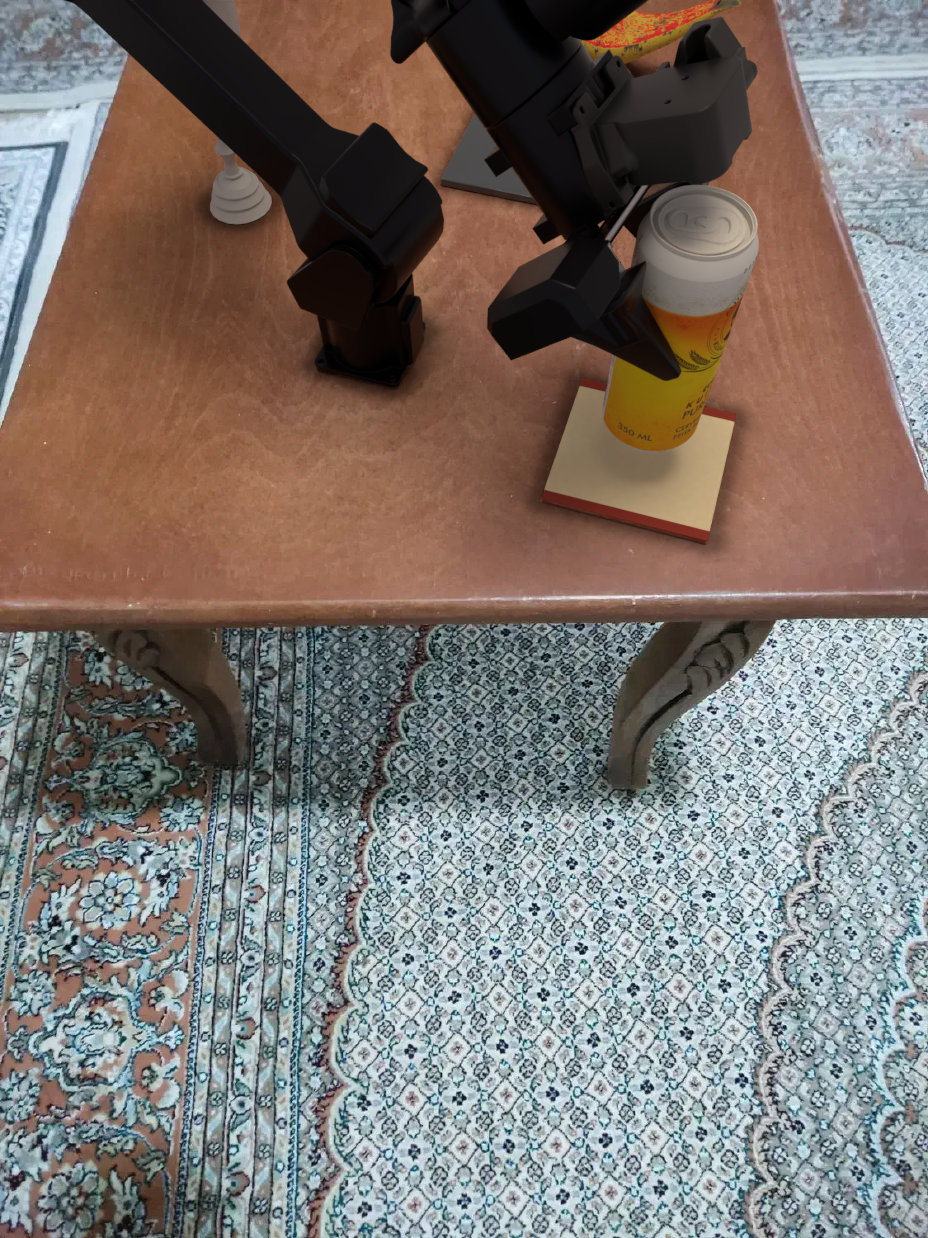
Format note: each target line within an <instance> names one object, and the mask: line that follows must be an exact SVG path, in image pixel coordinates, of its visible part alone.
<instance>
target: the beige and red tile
mask: <svg viewBox="0 0 928 1238" xmlns="http://www.w3.org/2000/svg"><path fill="white" fill-rule="evenodd" d="M606 386H607V383H604V382H600V381H597V380H592V379H587V378H581V381H580V385H579V386H578V390H577V392H576V395H575V398H574V400H573V404H572V407H571V410H570V412H569V416H568V419H567V422H566V425H565V426H564V431H563V433H562V436H561V439H560V442H559V445H558V448H557V451H556V454H555V456H554V459H553V462H552V466H551V468H550V471H549V474H548V477H547V480H546V483H545V486H544V489H543V492H542V495H541V497H540V503H543V504H547V505H550V506H554V507H558V508H562V509H566V510H571V511H575V512H577V513H582V514H586V515H589V516H594V517H598V518H602V519H606V520H608V521H613V522H617V523H621V524H625V525H629V526H632V527H636V528H641V529H644V530H645V529H646V530H649V531H653V532H656V533H661V534H664V535H669V536H672V537H675V538H676V537H677V538H680V539H684V540H688V541H691V542H697V543H700V544H704V545H707V543H708V540H709V536H710V533H711V528H712V523H713V519H714V515H715V512H716V511H715V510H716V507H717V506H716V505H717V502H718V498H719V493H720V488H721V484H722V479H723V474H724V472H725V471H724V470H725V467H726V461H727V457H728V453H729V448H730V445H731V442H732V441H731V440H732V437H733V436H732V435H733V433H734V432H733V431H734V428H735V423H736V419H737V413H735V412H731V411H726V410H722V409H718V408H713V407H709V406H704V409H703V411H702V414H701V417H700V420H699V423H698V426H697V428H696V431H695V432H694V434H693V435H692V437H691V438H690V439H689V440H688V441H686V442H685V443H684V444H682V445H680V446H678V447H676V448H673V449H670V450H667V451H663V452H658V453H645V452H640V451H636V450H633V449H631V448H629V447H627V446H625V445H624V444H622V443H621V442H620V441H619V440H618V439H617V438H616V437H615V436H614V435H613V434H612V433H611V432H610V431H609V429H608V428H607V426H606V424H605V422H604V419H603V415H602V407H603V401H604V396H605V391H606Z"/></svg>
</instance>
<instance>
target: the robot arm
mask: <svg viewBox="0 0 928 1238" xmlns="http://www.w3.org/2000/svg"><path fill="white" fill-rule="evenodd" d="M63 1H65V2H68V3H70V4H73V5H75V6H76V7H77V8H79V9H80V10H81V11H83V13H85V14H86V16H88V17H89V18H90V19H91V20H92V21H93V22H94V23H95V24H96V25H98V26H99V28H101V30H102V31H104V32H105V34H107V35H108V36H109V37H110V38H111V39H112V40H113V41H114V42H116V43H117V45H119V46H120V47H121V48H122V49H123V50H124V51H125V52H126V53H127V54H128V55H130V57H132V59H134V60H135V61H136V62H137V63H138V64H139V65H140V66H141V67H142V68H143V69H144V70H145V71H147V72H148V73H149V74H150V75H151V76H152V77H153V78H154V79H155V80H156V81H157V82H158V83H159V84H160V85H161V86H163V88H164V89H165V90H166V91H168V93H170V94H171V95H172V96H173V97H174V98H175V99H177V100H178V102H179V103H181V104H182V105H183V107H185V108H186V109H187V110H188V111H189V112H190V113H191V114H192V115H193V116H194V117H196V118H197V119H198V121H200V123H202V124H203V125H204V126H205V127H206V128H207V129H209V131H211V133H213V135H215V137H216V138H217V137H218V138H219V139H220V140H221V141H222V142H223V143H225V144H226V145H227V146H228V147H229V148H230V149H231V150H232V151H233V152H234V153H235V156H237V157H238V158H239V159H240V160H241V161H242V162H244V163H245V164H246V165H247V167H249V168H250V169H251V170H252V171H253V172H254V174H256V175H257V176H259V178H260V179H261V180H263V181H264V183H266V184H267V185H268V186H269V187H270V188H271V189H272V190H273V191H274V192H275V193H276V194H277V195H278V196H279V199H280V200H281V203H282V206H283V209H284V212H285V214H286V217H287V220H288V222H289V226H290V228H291V231H292V233H293V237H294V239H295V243H296V245H297V247H298V249H299V250H300V251H301V252H302V253H303V254H304V256H305V257H306V259H305V260H304V261H302V263H301V265H299V267H298V268H296V270H295V271H294V272H293V273H292V274H291V275H290V277H289V278H288V279H287V280H286V286H287V287H288V289H289V291H290V293H291V295H292V296H293V299H294V300H295V302H296V304H297V306H298V307H299V308H300V310H302V311H305V312H307V313H310V314H313V315H315V316H316V319H317V324H318V330H319V335H320V339H321V345H322V346H321V348H320V350H319V351H318V352H317V353H318V354H317V355H316V357H315V359H314V366H315V369H316V370H317V371H320V372H324V373H327V374H332V375H336V376H340V377H344V378H349V379H352V380H357V381H361V382H365V383H370V384H374V385H377V386H381V387H385V388H390V389H397V388H399V387H400V385H401V384H402V382H403V379H404V377H405V375H406V373H407V371H408V369H409V367H411V366H412V365H413V364H414V363H415V361H416V359H417V357H418V355H419V354H420V353H419V352H420V350H421V348H422V347H423V344H424V342H425V332H426V330H427V328H426V327H427V326H426V322H425V321H424V319H423V318H424V317H423V303H422V299H421V297H420V296H419V295H415V286H414V274H413V273H414V271H416V269H417V268H418V266H419V265H420V264H421V263H422V261H424V259H425V258H426V257H427V256H428V254H429V253H430V252H431V250H432V249H433V248H434V247H435V246H436V245H437V244H438V241H440V239H441V236H442V235H443V233H444V228H445V217H444V213H443V212H444V211H443V208H442V205H443V199H442V197H441V194H440V193H439V191H438V190H437V188H436V187H435V186H434V184H433V182H431V180H430V179H429V178H428V177H427V176H425V175H426V174H427V173H428V171H429V168H428V166H426V165H425V164H423V163H422V162H420V161H418V160H416V159H415V158H413V157H412V156H411V155H410V154H409V153H408V152H407V151H405V150H404V148H403V147H402V146H401V145H400V143H399V142H398V141H397V140H396V139H395V137H394V135H392V133H391V132H390V131H389V130H388V129H387V128H385V126H383V125H380V124H379V123H377V122H371V123H370V124H369V125H368V126H367V127H366V128H365V129H364V131H362V133H361V134H356V133H352V132H349V131H347V130H344V129H343V130H342V129H339V128H335V127H334V126H332V125H330V124H329V123H328V122H326V120H324V118H323V117H321V116H320V114H319V113H318V112H316V111H315V109H313V108H312V107H311V106H310V105H309V103H307V102H306V101H305V100H304V99H303V98H302V97H301V96H300V95H299V94H298V93H297V91H296V90H294V89H293V88H292V87H291V86H290V85H289V84H288V83H287V82H286V81H285V80H284V79H283V78H282V77H281V76H280V75H279V74H278V73H277V72H276V71H275V70H274V69H273V68H272V67H271V66H270V65H269V64H267V63H268V62H266V61H265V60H264V59H263V58H262V57H260V55H259V54H258V53H257V52H256V51H255V50H253V49H252V48H251V46H250V45H249V44H248V43H247V42H245V41H244V40H243V38H242V37H241V36H240V37H239V36H238V35H237V34H236V33H235V32H234V31H233V30H232V29H231V28H230V27H229V26H228V25H227V24H226V23H225V22H224V21H223V20H222V19H221V18H220V17H219V16H218V15H217V14H216V13H215V12H214V11H213V10H212V9H211V8H210V7H209V6H208V5H207V4H206V3H205V2H204V1H203V0H63ZM649 1H650V0H390V4H391V5H390V6H391V9H392V10H391V11H392V29H391V34H390V48H389V49H390V51H389V52H390V53H389V54H390V56H389V57H390V58H391V60H392V62H394V64H396V65H401V64H403V63H404V62H406V60H408V59H409V58H410V57H411V56H412V55H413V54H414V53H415V52H416V51H417V50H419V49H420V47H422V46H423V45H424V44H427V46H428V48H429V49H430V51H431V52H432V53H433V55H434V56H435V58H436V59H437V61H438V62H439V64H440V66H441V67H442V68H443V70H444V71H445V72H446V74H447V75H448V77H449V78H450V80H451V81H452V83H453V84H454V85H455V87H456V89H457V90H458V91H459V93H460V94H461V96H462V97H463V98H464V100H465V101H466V103H467V105H468V106H469V108H470V109H471V110H472V111H473V114H474V113H475V115H476V116H477V117H478V119H479V120H480V122H481V123H482V125H483V126H484V128H486V131H487V132H488V134H489V135H490V137H491V138H492V139H493V141H494V142H495V144H496V146H495V147H494V149H493V150H492V151H491V152H490V153H489V155H488V156H487V157H486V158H485V159H484V161H485V162H486V163H487V165H488V166H489V168H490V169H491V171H492V172H493V173H494V175H495V176H496V177H497V176H499V175H500V174H502V173H503V172H505V171H506V170H508V169H509V168H511V167H512V169H513V170H514V172H515V173H516V174H517V176H518V177H519V179H520V180H521V182H522V183H523V185H524V186H525V188H526V189H527V190H528V192H529V193H530V195H531V196H532V198H533V199H534V201H535V202H536V204H535V205H537V206H538V208H539V209H540V211H541V212H542V215H541V217H540V218H539V219H538V221H536V223H535V224H534V226H533V227H532V230H533V232H534V233H535V235H536V237H537V238H538V239H539V240H540V242H541V244H542V245H545V244H548V243H549V242H552V241H553V240H555V239H557V238H559V237H562V238H563V240H564V242H563V243H562V244H560V245H558V246H556V247H554V248H552V249H551V250H548V251H546V252H544V253H542V254H541V255H539V256H537V257H534V258H533V259H530V260H529V261H527V262H525V263H523V264H521V265H519V266H518V267H517V268H516V270H515V271H514V272H513V273H512V274H511V276H510V278H509V279H508V280H507V282H506V283H505V284H504V286H503V287H502V288H501V290H500V291H499V292H498V293H497V295H496V296H495V298H494V299H493V300H492V301H491V303H490V304H489V305H488V307H487V315H486V316H487V317H486V318H487V319H486V321H487V322H486V328H487V331H488V332H489V334H490V336H491V337H492V338H493V340H494V341H495V342H496V344H497V345H498V346H499V347H500V349H501V350H502V351H503V353H504V354H505V355H506V356H507V358H508V359H509V360H510V361H514V360H517V359H519V358H521V357H525V356H527V355H530V354H531V353H534V352H537V351H539V350H542V349H544V348H545V349H546V348H547V347H549V346H552V345H555V344H557V343H560V342H563V341H565V340H567V339H569V338H572V339H576V340H578V341H580V342H583V343H585V344H588V345H591V346H594V347H595V348H598V349H600V350H602V351H605V352H606V353H608V354H610V355H612V356H613V355H614V356H616V357H618V358H620V359H622V360H624V361H626V362H628V363H630V364H632V365H634V366H636V367H638V368H640V369H642V370H644V371H646V372H647V373H649V374H651V375H653V376H655V377H657V378H659V379H661V380H663V381H669V380H673V379H676V378H678V377H679V376H680V374H681V368H680V366H679V364H678V361H677V359H676V357H675V355H674V352H673V350H672V349H671V347H670V345H669V343H668V341H667V340H666V338H665V336H664V334H663V333H662V331H661V329H660V327H659V326H658V324H657V322H656V320H655V319H654V317H653V315H652V313H651V311H650V310H649V308H648V306H647V304H646V303H645V301H644V299H643V297H642V288H643V282H644V277H645V271H646V266H647V264H646V261H643V262H641V263H639V264H637V265H635V266H632V267H631V266H630V267H628V268H625V267H624V266H623V264H622V262H621V261H620V259H619V258H618V256H617V254H615V252H614V250H613V246H614V245H613V244H612V243H613V242H614V241H615V239H616V238H617V236H618V235H619V233H620V232H621V230H622V229H623V228H625V229H626V230H627V231H628V232H629V233H630V234H631V235H632V236H633V237H634V238H635V239H636V237H637V232H638V228H639V225H640V223H641V221H642V220H643V218H644V217H645V216H646V215H647V213H648V212H649V211H650V209H651V207H652V205H653V204H654V202H655V201H656V200H657V198H659V197H660V196H661V195H662V194H664V193H665V192H667V191H669V190H672V189H674V188H677V187H681V186H687V185H707V186H710V182H713V181H715V180H718V179H719V178H721V177H723V175H725V174H726V173H727V172H728V170H729V169H730V167H731V166H732V164H733V159H734V156H735V154H736V153H737V151H738V150H739V148H740V146H741V145H742V144H743V141H747V140H748V139H749V138H750V136H751V134H752V132H753V126H752V119H751V112H750V105H749V97H748V90H749V88H750V87H751V85H752V84H753V82H754V81H755V79H756V77H757V76H758V66H757V64H756V63H755V61H752V60H750V59H749V60H748V56H747V52H746V47H745V46H742V44H741V43H740V41H739V40H738V38H737V37H736V35H735V33H733V30H732V29H731V28H730V26H729V25H728V23H727V21H726V20H725V18H723V16H717V17H711V18H710V19H707V20H703V21H698V22H695V23H693V25H692V26H691V27H690V29H689V30H688V31H687V33H686V34H685V35H684V36H683V37H681V38H680V41H679V43H678V45H677V48H676V54H675V57H674V61H673V66H671V62H670V61H669V60H667V61H663V62H661V64H660V65H659V66H658V67H657V68H656V70H655V71H653V72H652V73H650V74H645V75H641V76H637V77H635V76H634V75H633V74H632V72H631V71H630V70H629V68H627V66H626V64H624V62H623V61H622V59H621V58H620V57H619V56H617V55H615V56H613V55H612V53H611V51H610V50H608V51H606V52H605V53H603V54H602V55H601V56H599V57H598V58H596V59H595V60H594V61H593V60H592V59H591V57H590V55H589V54H588V52H587V50H586V49H585V47H584V45H583V44H582V43H581V40H583V41H586V40H594V39H596V38H598V37H600V36H602V35H603V34H604V33H606V32H607V31H608V30H610V29H611V28H612V27H614V26H615V25H616V24H618V23H619V22H620V21H622V20H623V19H624V18H626V17H627V16H628V15H630V14H631V13H632V12H634V11H638V9H639V8H641V7H642V6H643V5H645V4H646V3H648V2H649ZM628 70H629V71H630V72H629V71H628ZM599 224H601V225H599Z"/></svg>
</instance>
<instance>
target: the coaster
mask: <svg viewBox="0 0 928 1238" xmlns="http://www.w3.org/2000/svg"><path fill="white" fill-rule="evenodd" d="M495 146H496V144H495V142H494V141H493V139H492V138H491V137H490V135H489V134H488V132H487V131H486V128H484V126H483V125H482V123H481V122H480V120H479V119H478V117H477V116H476V115H475V113H474V112H473V116H472V117H471V119H470V121H469V123H468V125H467V127H466V129H465V131H464V133H463V135H462V137H461V138H460V141H459V143H458V144H457V147H456V149H455V150H454V152H453V154H452V157H451V158H450V160H449V162H448V164H447V166H446V168H445V170H444V172H443V174H442V176H441V178H440V186H443V187H447V188H453V189H458V190H462V191H469V192H473V193H478V194H484V195H488V196H493V197H497V198H498V197H499V198H502V199H507V200H511V201H512V200H513V201H517V202H523V203H526V204H527V203H528V204H532V205H537V204H536V202H535V201H534V199H533V198H532V196H531V195H530V193H529V192H528V190H527V189H526V188H525V186H524V185H523V183H522V182H521V180H520V179H519V177H518V176H517V174H516V173H515V172H514V170H513V169H512V167H511V168H509V169H508V170H506V171H505V172H503V173H502V174H500V175H499V176H497V177H496V176H495V175H494V173H493V172H492V171H491V169H490V168H489V166H488V165H487V163H486V162H485V161H484V159H485V158H486V157H487V156H488V155H489V153H490V152H491V151H492V150H493V149H494V147H495Z"/></svg>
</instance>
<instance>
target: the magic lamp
mask: <svg viewBox="0 0 928 1238" xmlns="http://www.w3.org/2000/svg"><path fill="white" fill-rule="evenodd" d="M741 5H742V1H741V0H707V1H704V2H702V3H698V4H696V5H693V6H690V7H687V8H685V9H681V10H677V11H673V12H664V13H651V12H643V11H638V10H635V11H634V12H632V13H631V14H630V15H628V16H627V17H626V18H624V19H623V20H622V21H620V22H619V23H618V24H616V25H615V26H614V27H612V28H611V29H610V30H608V31H607V32H606V33H604V34H603V35H602V36H600V37H598V38H596V39H594V40H586V41H583V40H581V43H582V44H583V45H584V47H585V49H586V50H587V52H588V54H589V55H590V57H591V59H592V60H593V61H594V60H595V59H596V58H598V57H599V56H601V55H602V54H603V53H605V52H606V51H608V50H610V51H611V53H612V55H613V56H615V55H617V56H619V57H620V58H621V59H622V61H623V62H624V64H625V65H626V64H629V63H631V62H633V61H635V60H637V59H640V58H642V57H644V56H646V55H649V54H650V53H653V52H655V51H658V50H660V49H662V48H664V47H667V46H668V45H670V44H672V43H674V42H676V41H678V40H680V39H682V38H683V37H684V35H685V34H686V33H687V31H688V30H689V29H690V27H691V26H692V25H693V23H695V22H698V21H703V20H707V19H712V18H714V17H715V16H716V15H719V14H720V13H722V12H725V11H726V10H729V9H733V8H737V7H740V6H741ZM628 71H629V72H630V73H631V71H630V69H628Z"/></svg>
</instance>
